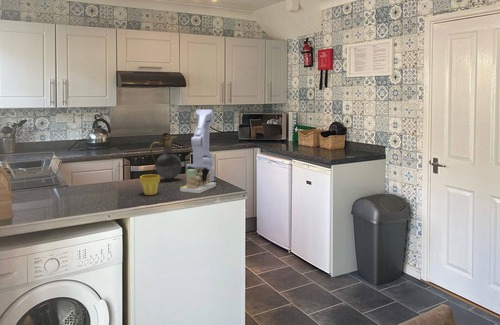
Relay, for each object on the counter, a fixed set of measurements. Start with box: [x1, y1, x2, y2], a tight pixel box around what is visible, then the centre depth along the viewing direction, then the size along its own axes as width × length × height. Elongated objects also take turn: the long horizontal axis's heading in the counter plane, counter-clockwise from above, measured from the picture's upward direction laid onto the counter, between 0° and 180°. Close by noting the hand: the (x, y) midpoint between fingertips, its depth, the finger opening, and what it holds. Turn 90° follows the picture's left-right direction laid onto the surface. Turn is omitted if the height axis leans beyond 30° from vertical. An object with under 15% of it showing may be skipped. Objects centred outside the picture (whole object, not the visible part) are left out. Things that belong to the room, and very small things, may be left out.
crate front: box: [186, 168, 197, 178], centre depth 235 cm, size 4×4×4 cm
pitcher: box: [149, 132, 183, 182], centre depth 262 cm, size 11×19×30 cm, turn 118°
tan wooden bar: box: [185, 172, 210, 189], centre depth 242 cm, size 18×5×6 cm, turn 157°
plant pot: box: [139, 174, 161, 196], centre depth 230 cm, size 10×10×10 cm
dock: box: [179, 181, 217, 194], centre depth 243 cm, size 20×12×2 cm, turn 157°
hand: (198, 181), depth 242 cm, fingers open, 7 cm apart
